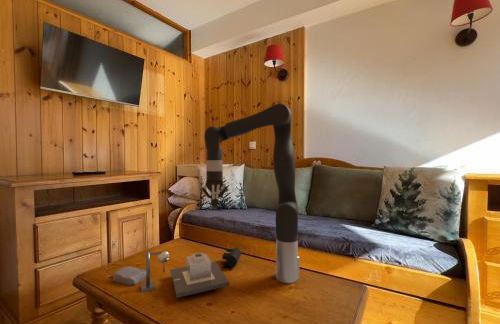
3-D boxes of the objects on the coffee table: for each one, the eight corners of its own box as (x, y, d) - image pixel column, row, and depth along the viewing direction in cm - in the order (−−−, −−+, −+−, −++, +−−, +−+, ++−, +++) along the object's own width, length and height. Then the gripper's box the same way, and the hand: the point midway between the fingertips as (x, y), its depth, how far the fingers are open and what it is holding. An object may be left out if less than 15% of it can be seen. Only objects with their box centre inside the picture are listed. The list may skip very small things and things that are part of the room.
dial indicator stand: (168, 280, 103) (168, 247, 103) (170, 286, 98) (170, 251, 98) (141, 286, 98) (141, 251, 98) (141, 292, 94) (141, 256, 94)
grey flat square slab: (214, 264, 114) (214, 261, 114) (229, 285, 96) (229, 281, 96) (170, 272, 106) (170, 269, 105) (176, 297, 87) (176, 293, 87)
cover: (205, 269, 106) (205, 249, 106) (211, 278, 98) (211, 257, 98) (186, 273, 102) (186, 253, 102) (190, 282, 95) (190, 261, 94)
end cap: (236, 270, 113) (236, 255, 113) (222, 268, 114) (222, 254, 114) (241, 260, 123) (241, 247, 123) (227, 259, 124) (227, 246, 124)
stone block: (129, 275, 111) (110, 281, 102) (131, 264, 112) (112, 269, 102) (149, 281, 107) (131, 288, 98) (151, 270, 108) (134, 275, 98)
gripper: (202, 170, 107) (202, 209, 108) (230, 170, 113) (230, 207, 113) (198, 169, 114) (198, 206, 115) (225, 169, 120) (225, 204, 120)
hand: (214, 206), depth 114 cm, fingers closed
